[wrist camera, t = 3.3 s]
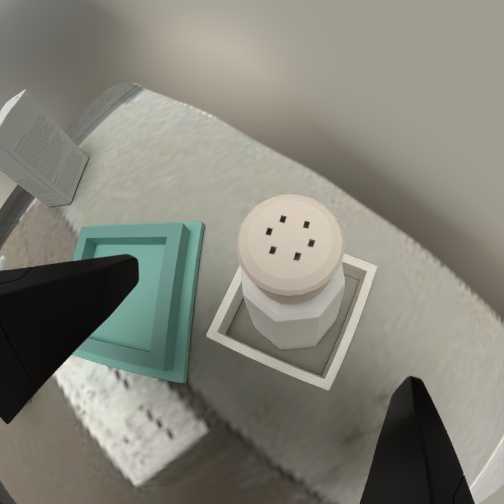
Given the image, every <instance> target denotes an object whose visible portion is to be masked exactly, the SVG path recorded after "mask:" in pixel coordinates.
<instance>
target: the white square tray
mask: <svg viewBox="0 0 504 504" xmlns="http://www.w3.org/2000/svg"><path fill="white" fill-rule="evenodd" d="M342 265H343V271H344V274H346V275H348V276H351V277H353V278H356V279H358V280H360V281H359V284H358V287H357V290H356V293H355V296H354V298H353V301H352V304H351V307H350V309H349V312H348V314H347V317H346V320H345V322H344V325H343V327H342V330H341V332H340V335H339V337H338V340H337V342H336V344H335V347H334V349H333V351H332V354H331V356H330V358H329V361H328V363H327V365H326V367H325V369H324V372H323V374H322V376H319V375H317V374H314V373H312V372H309V371H307V370H304V369H302V368H299V367H297V366H294V365H292V364H290V363H287V362H285V361H282V360H280V359H278V358H275V357H273V356H271V355H269V354H266V353H264V352H262V351H260V350H257V349H255V348H253V347H251V346H249V345H246V344H244V343H242V342H240V341H238V340H236V339H234V338H232V337H230V336H228V335H226V333H227V331H228V328H229V326H230V324H231V322H232V320H233V318H234V316H235V314H236V312H237V310H238V308H239V305H240V303H241V301H242V299H243V290H242V274H241V266H239V268H238V270H237V272H236V274H235V276H234V278H233V280H232V282H231V285H230V287H229V289H228V291H227V293H226V295H225V297H224V299H223V301H222V303H221V305H220V307H219V309H218V311H217V313H216V315H215V317H214V320H213V322H212V324H211V326H210V328H209V330H208V332H207V334H206V336H207V337H208V338H210V339H212V340H214V341H216V342H218V343H220V344H222V345H224V346H226V347H228V348H230V349H233V350H235V351H237V352H239V353H241V354H243V355H245V356H247V357H249V358H252V359H254V360H256V361H258V362H260V363H263V364H265V365H267V366H269V367H272V368H274V369H276V370H278V371H281V372H283V373H286V374H288V375H290V376H293V377H295V378H298V379H300V380H303V381H305V382H308V383H310V384H313V385H315V386H318V387H320V388H323V389H326V390H328V391H329V390H330V388H331V385H332V383H333V381H334V379H335V377H336V375H337V372H338V370H339V368H340V366H341V363H342V361H343V359H344V356H345V354H346V352H347V349H348V347H349V344H350V342H351V339H352V337H353V334H354V332H355V329H356V327H357V324H358V321H359V319H360V316H361V313H362V311H363V308H364V305H365V302H366V299H367V296H368V293H369V290H370V287H371V284H372V281H373V278H374V275H375V272H376V269H377V266H375V265H372V264H370V263H367V262H365V261H362V260H360V259H357V258H354V257H352V256H349V255H347V254H344V256H343V259H342Z"/></svg>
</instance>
